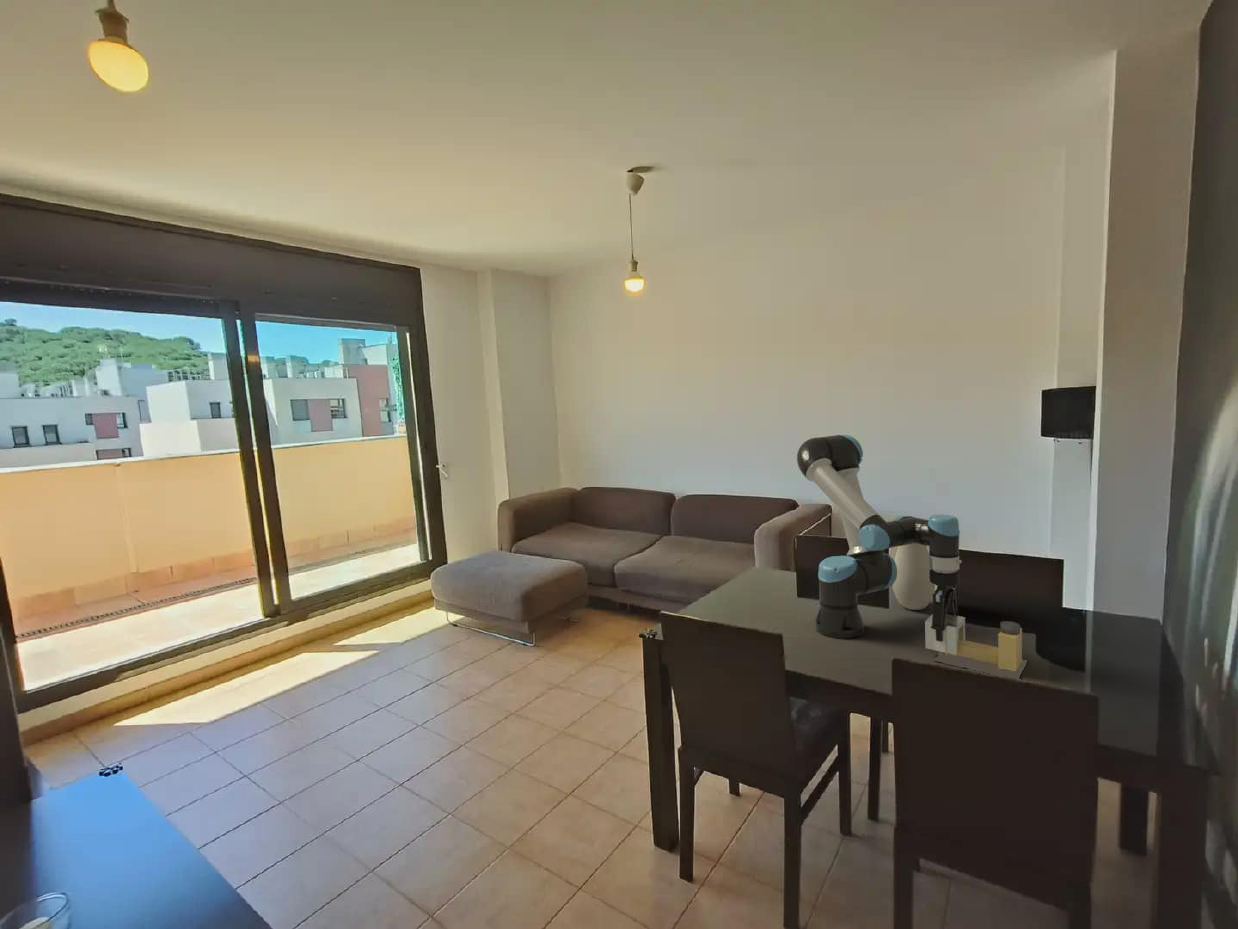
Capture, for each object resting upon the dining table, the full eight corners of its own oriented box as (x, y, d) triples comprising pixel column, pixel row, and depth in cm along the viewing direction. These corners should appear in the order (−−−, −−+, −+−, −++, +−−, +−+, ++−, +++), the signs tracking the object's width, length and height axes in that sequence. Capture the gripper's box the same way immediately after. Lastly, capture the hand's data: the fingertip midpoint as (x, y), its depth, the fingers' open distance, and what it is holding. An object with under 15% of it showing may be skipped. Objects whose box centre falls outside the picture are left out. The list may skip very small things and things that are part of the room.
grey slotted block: (925, 648, 166) (925, 621, 165) (934, 637, 172) (934, 611, 171) (956, 655, 160) (956, 627, 159) (965, 643, 166) (964, 617, 166)
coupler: (944, 658, 163) (943, 617, 162) (952, 648, 169) (951, 608, 167) (1016, 675, 151) (1017, 631, 150) (1022, 663, 157) (1022, 621, 156)
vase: (943, 607, 200) (942, 523, 197) (922, 618, 192) (921, 530, 189) (905, 597, 211) (903, 518, 208) (883, 607, 204) (882, 524, 201)
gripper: (948, 581, 153) (949, 662, 156) (969, 561, 169) (970, 635, 171) (917, 577, 159) (919, 655, 161) (941, 558, 174) (942, 629, 176)
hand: (945, 645), depth 166 cm, fingers closed on grey slotted block, 9 cm apart
